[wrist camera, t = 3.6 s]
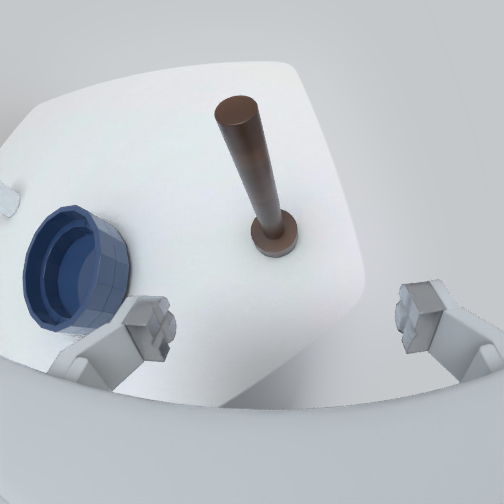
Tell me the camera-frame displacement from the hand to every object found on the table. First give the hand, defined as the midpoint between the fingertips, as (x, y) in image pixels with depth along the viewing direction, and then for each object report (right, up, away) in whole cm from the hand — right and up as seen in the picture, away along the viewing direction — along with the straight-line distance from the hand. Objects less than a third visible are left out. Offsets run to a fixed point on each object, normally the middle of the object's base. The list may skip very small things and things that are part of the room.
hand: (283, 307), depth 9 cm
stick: (+1, +3, +19) cm, 20 cm away
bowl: (-22, -1, +22) cm, 31 cm away
